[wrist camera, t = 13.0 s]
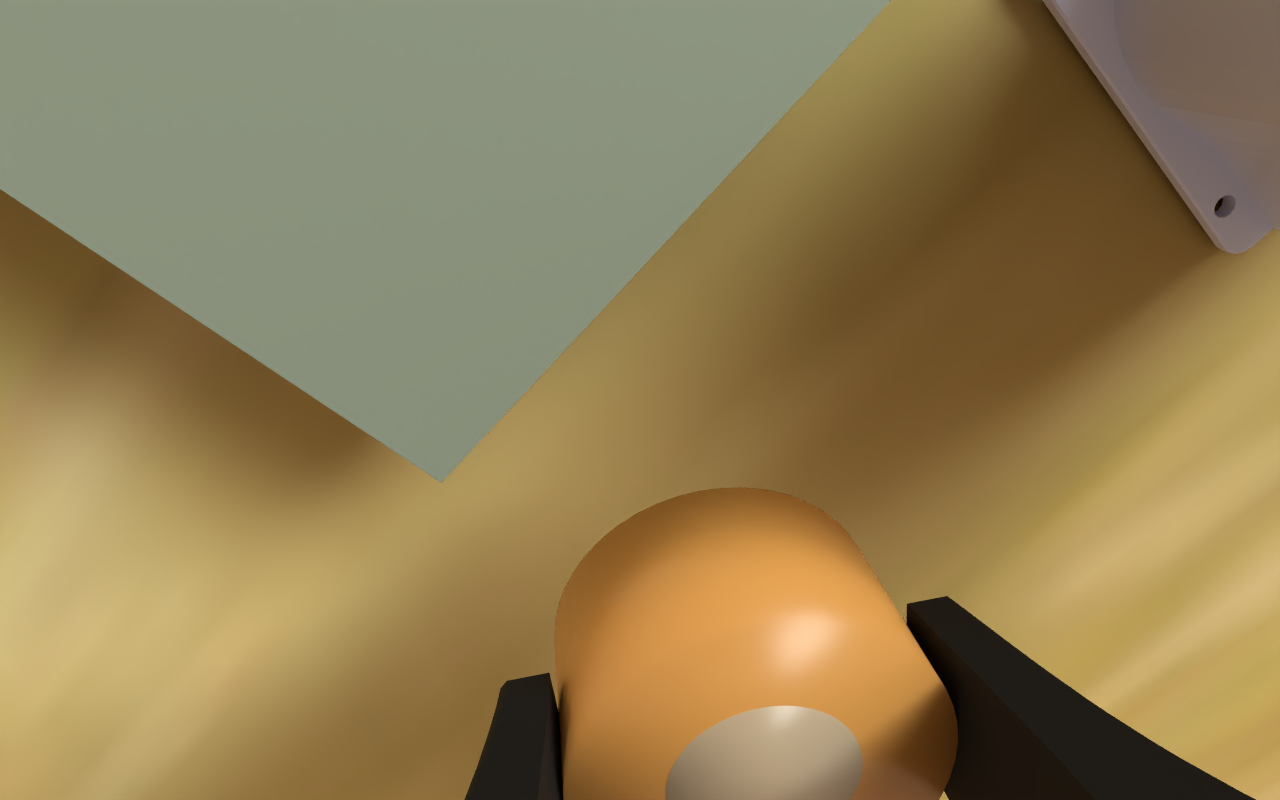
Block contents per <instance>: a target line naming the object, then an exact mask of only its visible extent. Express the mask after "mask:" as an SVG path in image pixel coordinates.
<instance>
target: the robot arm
mask: <svg viewBox="0 0 1280 800" xmlns="http://www.w3.org/2000/svg"><path fill="white" fill-rule="evenodd" d="M1042 1H1043V2H1044V3H1045V5H1046V6H1047V8H1048V9H1049V10H1050V12H1051V13H1052V15H1053V16H1054V18H1055V19H1056V20H1057V22H1058V23H1059V25H1060V26H1061V27H1062V29H1063V30H1064V32H1065V33H1066V35H1067V36H1068V37H1069V39H1070V40H1071V42H1072V43H1073V44H1074V46H1075V47H1076V49H1077V50H1078V52H1079V53H1080V54H1081V56H1082V57H1083V59H1084V60H1085V61H1086V63H1087V64H1088V66H1089V67H1090V69H1091V70H1092V71H1093V73H1094V74H1095V76H1096V77H1097V78H1098V80H1099V81H1100V83H1101V84H1102V86H1103V87H1104V88H1105V90H1106V91H1107V93H1108V94H1109V95H1110V97H1111V98H1112V100H1113V101H1114V103H1115V104H1116V105H1117V107H1118V108H1119V110H1120V111H1121V112H1122V114H1123V115H1124V117H1125V118H1126V120H1127V121H1128V122H1129V124H1130V125H1131V127H1132V128H1133V129H1134V131H1135V132H1136V134H1137V135H1138V137H1139V138H1140V139H1141V141H1142V142H1143V144H1144V145H1145V146H1146V148H1147V149H1148V151H1149V152H1150V154H1151V155H1152V156H1153V158H1154V159H1155V161H1156V162H1157V163H1158V165H1159V166H1160V168H1161V169H1162V171H1163V172H1164V173H1165V175H1166V176H1167V178H1168V179H1169V181H1170V182H1171V183H1172V185H1173V186H1174V188H1175V189H1176V190H1177V192H1178V193H1179V195H1180V196H1181V198H1182V199H1183V200H1184V202H1185V203H1186V205H1187V206H1188V207H1189V209H1190V210H1191V212H1192V213H1193V215H1194V216H1195V217H1196V219H1197V220H1198V222H1199V223H1200V224H1201V226H1202V227H1203V229H1204V230H1205V232H1206V233H1207V234H1208V236H1209V237H1210V239H1211V240H1212V241H1213V243H1214V244H1215V246H1216V247H1218V248H1219V249H1220V250H1223V251H1225V252H1228V253H1233V254H1239V253H1242V252H1245V251H1247V250H1248V249H1250V248H1251V247H1252V246H1254V245H1255V244H1256V243H1257V242H1258V241H1259V240H1261V239H1262V238H1263V237H1264V236H1265V235H1266V234H1267V233H1269V232H1270V231H1271V230H1272V229H1276V230H1280V0H1042ZM1222 197H1223V202H1222V205H1221V207H1220V208H1219V209H1218V210H1217V211H1216V212H1215V211H1214V209H1215V205H1216V203H1217V202H1218V201H1219V199H1220V198H1222ZM907 627H908V628H909V630H910V631H911V633H912V635H913V636H914V638H915V640H916V641H917V643H918V644H919V646H920V648H921V649H922V651H923V652H924V654H925V656H926V657H927V659H928V660H929V662H930V664H931V665H932V667H933V669H934V670H935V672H936V673H937V675H938V677H939V678H940V680H941V681H942V683H943V685H944V686H945V688H946V690H947V692H948V694H949V697H950V699H951V701H952V704H953V706H954V710H955V715H956V719H957V727H958V745H957V752H956V759H955V763H954V766H953V769H952V772H951V775H950V778H949V780H948V783H947V785H946V787H945V789H944V792H945V793H946V795H947V797H948V799H949V800H1256V799H1254V798H1252V797H1250V796H1248V795H1246V794H1244V793H1242V792H1240V791H1238V790H1236V789H1235V788H1233V787H1231V786H1229V785H1227V784H1226V783H1224V782H1222V781H1220V780H1219V779H1217V778H1215V777H1213V776H1211V775H1210V774H1208V773H1206V772H1204V771H1202V770H1201V769H1199V768H1197V767H1195V766H1193V765H1192V764H1190V763H1188V762H1186V761H1184V760H1183V759H1181V758H1179V757H1178V756H1176V755H1174V754H1173V753H1171V752H1169V751H1167V750H1166V749H1164V748H1162V747H1161V746H1159V745H1157V744H1156V743H1154V742H1153V741H1151V740H1149V739H1148V738H1146V737H1145V736H1143V735H1141V734H1140V733H1138V732H1137V731H1135V730H1134V729H1132V728H1131V727H1129V726H1127V725H1126V724H1124V723H1123V722H1121V721H1120V720H1118V719H1116V718H1115V717H1113V716H1112V715H1110V714H1109V713H1107V712H1105V711H1104V710H1103V709H1101V708H1100V707H1098V706H1097V705H1095V704H1094V703H1092V702H1091V701H1089V700H1088V699H1086V698H1085V697H1083V696H1082V695H1081V694H1079V693H1078V692H1076V691H1075V690H1074V689H1072V688H1071V687H1069V686H1068V685H1066V684H1065V683H1064V682H1062V681H1061V680H1059V679H1058V678H1056V677H1055V676H1054V675H1052V674H1051V673H1049V672H1048V671H1047V670H1045V669H1044V668H1042V667H1041V666H1040V665H1038V664H1037V663H1036V662H1034V661H1033V660H1031V659H1030V658H1029V657H1027V656H1026V655H1025V654H1023V653H1022V652H1021V651H1019V650H1018V649H1017V648H1015V647H1014V646H1013V645H1011V644H1010V643H1009V642H1007V641H1006V640H1005V639H1003V638H1002V637H1001V636H999V635H998V634H997V633H995V632H994V631H993V630H991V629H990V628H989V627H988V626H986V625H985V624H984V623H982V622H981V621H980V620H978V619H977V618H976V617H974V616H973V615H972V614H970V613H969V612H968V611H966V610H965V609H964V608H962V607H961V606H960V605H958V604H957V603H956V602H954V601H953V600H952V599H950V598H949V597H948V596H945V597H940V598H935V599H930V600H925V601H919V602H914V603H909V604H907ZM465 800H563V783H562V765H561V747H560V729H559V712H558V708H557V704H556V700H555V695H554V691H553V687H552V683H551V678H550V674H549V673H546V674H541V675H535V676H530V677H525V678H520V679H515V680H509V681H507V682H506V683H505V684H504V685H503V686H502V687H501V689H500V693H499V698H498V702H497V706H496V710H495V713H494V717H493V720H492V724H491V727H490V730H489V733H488V736H487V740H486V743H485V746H484V749H483V751H482V754H481V757H480V760H479V763H478V766H477V769H476V771H475V774H474V777H473V779H472V782H471V784H470V787H469V790H468V792H467V795H466V797H465Z"/></svg>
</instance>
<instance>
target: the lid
mask: <svg viewBox="0 0 1280 800" xmlns="http://www.w3.org/2000/svg"><path fill="white" fill-rule="evenodd" d="M890 1H891V0H0V189H1V190H2V191H4V192H5V193H7V194H8V195H10V196H11V197H13V198H14V199H16V200H17V201H19V202H20V203H22V204H23V205H25V206H26V207H28V208H29V209H31V210H32V211H34V212H35V213H37V214H38V215H40V216H41V217H43V218H44V219H46V220H47V221H49V222H50V223H52V224H53V225H55V226H56V227H58V228H59V229H61V230H62V231H64V232H65V233H67V234H68V235H70V236H71V237H73V238H74V239H76V240H77V241H79V242H80V243H82V244H83V245H85V246H86V247H88V248H89V249H91V250H92V251H94V252H95V253H97V254H98V255H100V256H101V257H103V258H104V259H106V260H107V261H109V262H110V263H112V264H113V265H115V266H116V267H118V268H119V269H121V270H122V271H124V272H125V273H127V274H128V275H130V276H131V277H133V278H134V279H136V280H137V281H139V282H140V283H142V284H143V285H145V286H146V287H148V288H149V289H151V290H152V291H154V292H155V293H157V294H158V295H160V296H161V297H163V298H164V299H166V300H167V301H169V302H170V303H172V304H173V305H175V306H176V307H178V308H179V309H181V310H182V311H184V312H185V313H187V314H188V315H190V316H191V317H193V318H194V319H196V320H197V321H199V322H200V323H202V324H203V325H205V326H206V327H208V328H209V329H211V330H212V331H214V332H215V333H217V334H218V335H220V336H221V337H223V338H224V339H226V340H227V341H229V342H230V343H232V344H233V345H235V346H236V347H238V348H239V349H241V350H242V351H244V352H245V353H247V354H248V355H250V356H251V357H253V358H254V359H256V360H257V361H259V362H261V363H262V364H264V365H265V366H267V367H268V368H270V369H271V370H273V371H274V372H276V373H277V374H279V375H280V376H282V377H283V378H285V379H286V380H288V381H289V382H291V383H292V384H294V385H295V386H297V387H298V388H300V389H301V390H303V391H304V392H306V393H307V394H309V395H310V396H312V397H313V398H315V399H316V400H318V401H319V402H321V403H322V404H324V405H325V406H327V407H328V408H330V409H331V410H333V411H334V412H336V413H337V414H339V415H340V416H342V417H343V418H345V419H346V420H348V421H349V422H351V423H352V424H354V425H355V426H357V427H358V428H360V429H361V430H363V431H364V432H366V433H367V434H369V435H370V436H372V437H373V438H375V439H376V440H378V441H379V442H381V443H382V444H384V445H385V446H387V447H388V448H390V449H391V450H393V451H394V452H396V453H397V454H399V455H400V456H402V457H403V458H405V459H406V460H408V461H409V462H411V463H412V464H414V465H415V466H417V467H418V468H420V469H421V470H423V471H424V472H426V473H427V474H429V475H430V476H432V477H433V478H435V479H436V480H438V481H439V482H441V483H442V481H443V480H444V479H445V478H446V477H447V476H448V475H449V474H450V473H451V472H452V471H453V470H454V469H455V467H456V466H457V465H458V464H459V463H460V462H461V461H462V460H463V459H464V458H465V457H466V456H467V455H468V454H469V452H470V451H471V450H472V449H473V448H474V447H475V446H476V445H477V444H478V443H479V442H480V441H481V440H482V439H483V437H484V436H485V435H486V434H487V433H488V432H489V431H490V430H491V429H492V428H493V427H494V426H495V425H496V424H497V422H498V421H499V420H500V419H501V418H502V417H503V416H504V415H505V414H506V413H507V412H508V411H509V410H510V409H511V407H512V406H513V405H514V404H515V403H516V402H517V401H518V400H519V399H520V398H521V397H522V396H523V395H524V393H525V392H526V391H527V390H528V389H529V388H530V387H531V386H532V385H533V384H534V383H535V382H536V381H537V380H538V378H539V377H540V376H541V375H542V374H543V373H544V372H545V371H546V370H547V369H548V368H549V367H550V366H551V365H552V363H553V362H554V361H555V360H556V359H557V358H558V357H559V356H560V355H561V354H562V353H563V352H564V351H565V350H566V348H567V347H568V346H569V345H570V344H571V343H572V342H573V341H574V340H575V339H576V338H577V337H578V336H579V335H580V333H581V332H582V331H583V330H584V329H585V328H586V327H587V326H588V325H589V324H590V323H591V322H592V321H593V319H594V318H595V317H596V316H597V315H598V314H599V313H600V312H601V311H602V310H603V309H604V308H605V307H606V306H607V304H608V303H609V302H610V301H611V300H612V299H613V298H614V297H615V296H616V295H617V294H618V293H619V292H620V291H621V289H622V288H623V287H624V286H625V285H626V284H627V283H628V282H629V281H630V280H631V279H632V278H633V277H634V276H635V274H636V273H637V272H638V271H639V270H640V269H641V268H642V267H643V266H644V265H645V264H646V263H647V262H648V261H649V259H650V258H651V257H652V256H653V255H654V254H655V253H656V252H657V251H658V250H659V249H660V248H661V247H662V245H663V244H664V243H665V242H666V241H667V240H668V239H669V238H670V237H671V236H672V235H673V234H674V233H675V232H676V230H677V229H678V228H679V227H680V226H681V225H682V224H683V223H684V222H685V221H686V220H687V219H688V218H689V217H690V215H691V214H692V213H693V212H694V211H695V210H696V209H697V208H698V207H699V206H700V205H701V204H702V203H703V202H704V200H705V199H706V198H707V197H708V196H709V195H710V194H711V193H712V192H713V191H714V190H715V189H716V188H717V187H718V185H719V184H720V183H721V182H722V181H723V180H724V179H725V178H726V177H727V176H728V175H729V174H730V173H731V171H732V170H733V169H734V168H735V167H736V166H737V165H738V164H739V163H740V162H741V161H742V160H743V159H744V158H745V156H746V155H747V154H748V153H749V152H750V151H751V150H752V149H753V148H754V147H755V146H756V145H757V144H758V143H759V141H760V140H761V139H762V138H763V137H764V136H765V135H766V134H767V133H768V132H769V131H770V130H771V129H772V128H773V126H774V125H775V124H776V123H777V122H778V121H779V120H780V119H781V118H782V117H783V116H784V115H785V114H786V113H787V111H788V110H789V109H790V108H791V107H792V106H793V105H794V104H795V103H796V102H797V101H798V100H799V99H800V97H801V96H802V95H803V94H804V93H805V92H806V91H807V90H808V89H809V88H810V87H811V86H812V85H813V84H814V82H815V81H816V80H817V79H818V78H819V77H820V76H821V75H822V74H823V73H824V72H825V71H826V70H827V69H828V67H829V66H830V65H831V64H832V63H833V62H834V61H835V60H836V59H837V58H838V57H839V56H840V55H841V54H842V52H843V51H844V50H845V49H846V48H847V47H848V46H849V45H850V44H851V43H852V42H853V41H854V40H855V38H856V37H857V36H858V35H859V34H860V33H861V32H862V31H863V30H864V29H865V28H866V27H867V26H868V25H869V23H870V22H871V21H872V20H873V19H874V18H875V17H876V16H877V15H878V14H879V13H880V12H881V11H882V10H883V8H884V7H885V6H886V5H887V4H888V3H889V2H890Z"/></svg>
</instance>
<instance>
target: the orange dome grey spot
mask: <svg viewBox="0 0 1280 800" xmlns="http://www.w3.org/2000/svg"><path fill="white" fill-rule="evenodd" d="M554 641H555V658H556V676H557V694H558V712H559V729H560V747H561V765H562V783H563V800H939V798H940V797H941V795H942V793H943V791H944V789H945V787H946V785H947V783H948V780H949V778H950V775H951V772H952V769H953V766H954V763H955V759H956V752H957V745H958V727H957V719H956V715H955V710H954V706H953V704H952V701H951V699H950V697H949V694H948V692H947V690H946V688H945V686H944V685H943V683H942V681H941V680H940V678H939V677H938V675H937V673H936V672H935V670H934V669H933V667H932V665H931V664H930V662H929V660H928V659H927V657H926V656H925V654H924V652H923V651H922V649H921V648H920V646H919V644H918V643H917V641H916V640H915V638H914V636H913V635H912V633H911V631H910V630H909V628H908V627H907V625H906V623H905V622H904V620H903V619H902V617H901V615H900V614H899V612H898V611H897V609H896V607H895V606H894V604H893V602H892V601H891V599H890V598H889V596H888V594H887V593H886V591H885V590H884V588H883V586H882V585H881V583H880V582H879V580H878V578H877V577H876V575H875V574H874V572H873V570H872V569H871V567H870V565H869V564H868V562H867V561H866V559H865V557H864V556H863V554H862V553H861V551H860V549H859V548H858V546H857V545H856V543H855V542H854V540H853V539H852V538H851V536H850V535H849V534H848V533H847V532H846V531H845V529H844V528H843V527H842V526H841V525H840V524H839V523H838V522H837V521H835V520H834V519H833V518H831V517H830V516H829V515H827V514H826V513H825V512H823V511H822V510H820V509H818V508H816V507H815V506H813V505H811V504H809V503H807V502H805V501H803V500H800V499H797V498H795V497H792V496H789V495H786V494H782V493H778V492H773V491H769V490H762V489H753V488H719V489H711V490H703V491H698V492H693V493H689V494H685V495H681V496H677V497H675V498H672V499H669V500H666V501H663V502H661V503H658V504H655V505H653V506H651V507H649V508H647V509H645V510H643V511H641V512H639V513H637V514H635V515H634V516H632V517H631V518H629V519H628V520H626V521H624V522H623V523H621V524H620V525H618V526H617V527H616V528H614V529H613V530H612V531H611V532H609V533H608V534H607V535H606V536H605V537H603V538H602V539H601V540H600V541H599V542H598V543H597V544H596V545H595V546H594V547H593V548H592V549H591V550H590V551H589V552H588V553H587V554H586V556H585V557H584V558H583V560H582V561H581V562H580V564H579V565H578V566H577V568H576V569H575V571H574V572H573V574H572V576H571V578H570V580H569V581H568V583H567V585H566V587H565V589H564V592H563V594H562V597H561V600H560V603H559V605H558V610H557V615H556V621H555V640H554Z"/></svg>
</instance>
